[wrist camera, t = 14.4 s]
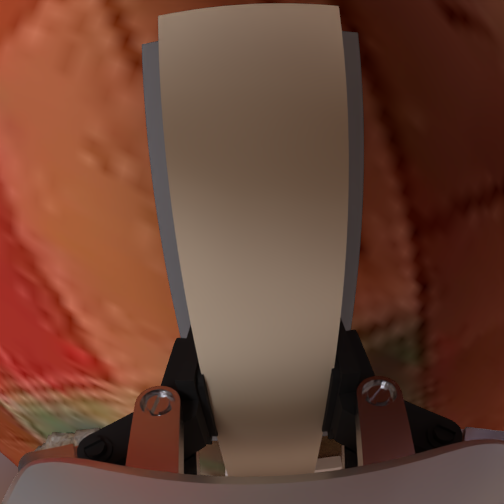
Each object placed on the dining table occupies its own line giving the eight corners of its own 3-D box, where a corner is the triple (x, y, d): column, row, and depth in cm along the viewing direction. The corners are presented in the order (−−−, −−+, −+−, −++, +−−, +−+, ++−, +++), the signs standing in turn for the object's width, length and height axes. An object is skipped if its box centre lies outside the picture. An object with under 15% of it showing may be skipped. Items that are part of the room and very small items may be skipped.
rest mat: (147, 47, 10) (141, 44, 9) (353, 36, 9) (357, 32, 9) (210, 433, 18) (209, 440, 18) (328, 428, 18) (330, 435, 18)
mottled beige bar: (200, 61, 9) (158, 15, 5) (302, 56, 9) (338, 6, 4) (242, 443, 17) (239, 511, 12) (298, 441, 17) (304, 509, 12)
